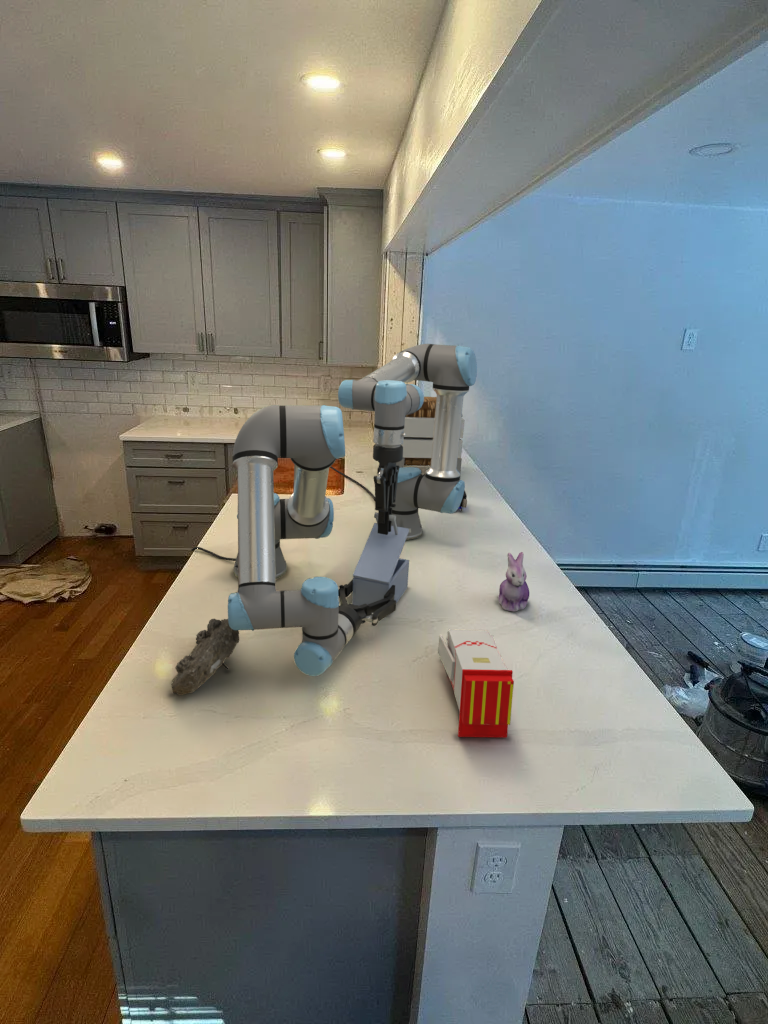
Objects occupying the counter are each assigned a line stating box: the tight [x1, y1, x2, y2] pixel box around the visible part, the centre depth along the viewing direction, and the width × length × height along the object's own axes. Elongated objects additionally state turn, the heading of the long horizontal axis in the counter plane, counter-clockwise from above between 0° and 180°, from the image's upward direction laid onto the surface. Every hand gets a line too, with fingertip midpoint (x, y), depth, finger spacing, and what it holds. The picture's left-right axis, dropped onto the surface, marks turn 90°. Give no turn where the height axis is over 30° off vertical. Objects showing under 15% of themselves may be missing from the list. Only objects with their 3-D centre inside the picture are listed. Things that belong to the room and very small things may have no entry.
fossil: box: [171, 618, 240, 696], centre depth 121 cm, size 22×10×15 cm
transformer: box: [396, 396, 465, 475], centre depth 268 cm, size 34×33×41 cm
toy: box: [437, 628, 515, 738], centre depth 117 cm, size 12×13×30 cm
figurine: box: [497, 551, 530, 612], centre depth 152 cm, size 9×10×15 cm
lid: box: [352, 511, 409, 584], centre depth 147 cm, size 18×10×9 cm
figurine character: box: [457, 490, 468, 512], centre depth 228 cm, size 7×8×15 cm
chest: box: [351, 557, 410, 606], centre depth 154 cm, size 17×10×9 cm, turn 160°
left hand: (374, 585), depth 148 cm, fingers closed on chest, 10 cm apart
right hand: (384, 532), depth 149 cm, fingers closed on lid, 1 cm apart
